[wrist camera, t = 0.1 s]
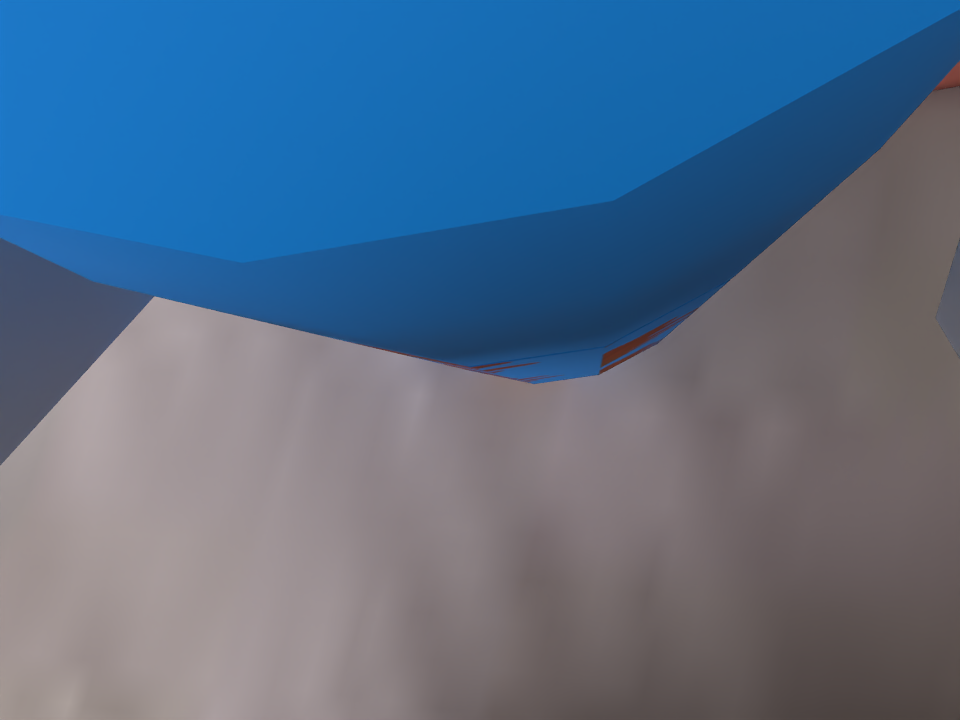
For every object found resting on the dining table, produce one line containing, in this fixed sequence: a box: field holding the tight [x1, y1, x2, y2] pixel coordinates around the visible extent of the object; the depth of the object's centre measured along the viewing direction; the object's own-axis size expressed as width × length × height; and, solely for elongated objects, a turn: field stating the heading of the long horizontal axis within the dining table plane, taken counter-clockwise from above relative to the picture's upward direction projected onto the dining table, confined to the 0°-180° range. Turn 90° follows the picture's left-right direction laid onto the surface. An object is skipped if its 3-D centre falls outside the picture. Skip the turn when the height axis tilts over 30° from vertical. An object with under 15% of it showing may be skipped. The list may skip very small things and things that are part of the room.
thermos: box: [0, 0, 960, 384], centre depth 17 cm, size 11×11×25 cm
